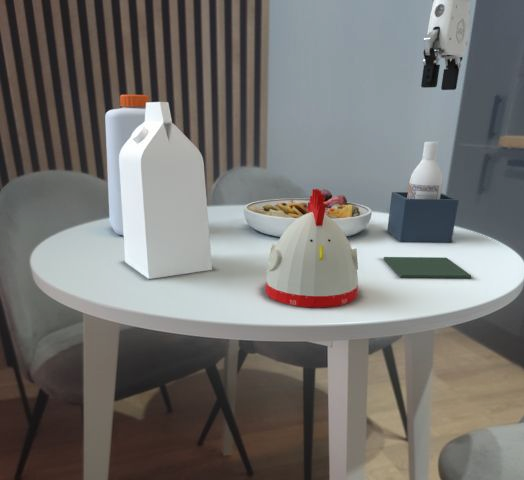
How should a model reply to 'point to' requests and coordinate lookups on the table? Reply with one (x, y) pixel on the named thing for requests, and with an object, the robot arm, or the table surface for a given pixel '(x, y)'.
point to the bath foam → (426, 175)
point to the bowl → (288, 210)
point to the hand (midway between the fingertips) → (438, 88)
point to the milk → (163, 199)
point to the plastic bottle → (117, 134)
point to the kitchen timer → (313, 262)
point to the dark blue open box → (422, 218)
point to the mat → (425, 267)
